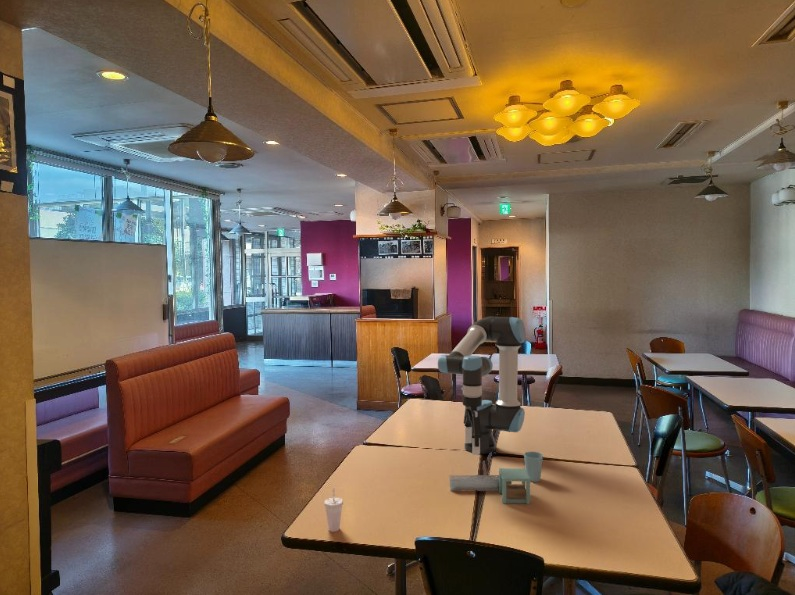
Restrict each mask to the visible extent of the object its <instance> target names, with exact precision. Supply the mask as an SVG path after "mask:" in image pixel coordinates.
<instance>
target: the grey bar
mask: <svg viewBox="0 0 795 595" xmlns="http://www.w3.org/2000/svg"><path fill="white" fill-rule="evenodd" d="M506 484H513V481H506ZM449 489H450V490H449V491H450V492H462V491H461V490H477V491H476V492H478V491H479V492H499V474H494V475H493V474H484V475H483V474H478V475H477V474H476V475H475V474H474V475H473V474H469V475H468V474H467V475H466V474H464V475H463V474H454V475H453V474H450V475H449Z"/></svg>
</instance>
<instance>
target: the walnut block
mask: <svg viewBox="0 0 795 595" xmlns="http://www.w3.org/2000/svg"><path fill="white" fill-rule="evenodd" d="M506 499H526V485H525V486H524V484H522V483H512V484H506Z"/></svg>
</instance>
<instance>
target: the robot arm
mask: <svg viewBox="0 0 795 595" xmlns="http://www.w3.org/2000/svg"><path fill="white" fill-rule="evenodd" d="M526 336H527V335H526V328H525V323H524V321H523V320H522V318H519V317H513V316H486V317H483V318H480V319H478V320H477V321H476V322H474V323H473V324H471V325H470V327H469V328H468V329H467V333H466V335H465V336H463V338H462V339H461V340H460V341H459V343H458V344H457V345H456V346H455V347H454V349H453V350H451V352H450V353H449V354H442V355H440V356H439V357H438V361H437V368H438V371H439V372H440V373H445V374H451V375H452V374H454V375H462V387H461V391H462V405H463V406H464V407H465V409H464V416H463V417H464V418H463V424H464V450H466V451H467V450H468V451H467V452H470V451H471V452H470V453H472V455H473V456H475V455H476V456H477V455H480V454H491V453H494V452H495V451H496V450H497V445H496V439H495V437H494V435H493V430H495V431H502V432H508V433H519V432H520V431H521V430H522V428H523V425H524V420H525V409H524V408H523V407H521V402H520V401H519V400H518V376H519V375H518V374H519V373H518V370H519V366H518V361H519V359H518V358H519V356H518V355H519V349H520V348H521V347H522V343H524V342H525V341H526ZM487 341H488V342H489V341H491V342H495V346H496V347H497V348H498V350H499V352H498V354H499V355H498V356H499V357H498V360H499V362H498V363H499V364H498V371H499V372H498V376H499V377H498V399H497V400H496V401H495V404H493V403H494V402H493V401H492V400H489V399H483V398H482V395H483V384H482V383H483V377H484V376H487V375H489V373H491V371H492V370H493V368H494V366H493V361H492V360H491V359H490V358H489V357H487V356H479V355H473V353H474V352H475V351H476V350H477V348H478V347H479V346H480V345H482V344H484V343H485V342H487Z"/></svg>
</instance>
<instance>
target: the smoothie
mask: <svg viewBox="0 0 795 595" xmlns="http://www.w3.org/2000/svg"><path fill="white" fill-rule="evenodd" d="M343 500H344V499H343V498H341V497H336V496H335V487H332V496H331V497H328V498H326V499H325V500H324V501H323V503H324V504H323V505H324V508H325V513H326V521H327V529H328V531H329V532H334V533H335V532H338V531H339V530H340V529H341V527H340V526H341V519H342V508H343V505H344V501H343Z"/></svg>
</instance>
